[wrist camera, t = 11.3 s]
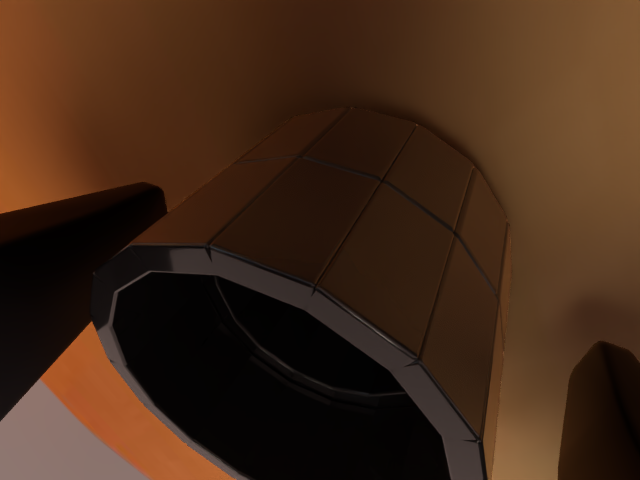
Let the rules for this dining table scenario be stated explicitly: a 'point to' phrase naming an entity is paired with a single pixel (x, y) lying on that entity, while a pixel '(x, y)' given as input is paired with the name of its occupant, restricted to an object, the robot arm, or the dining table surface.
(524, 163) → the dining table surface
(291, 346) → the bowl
